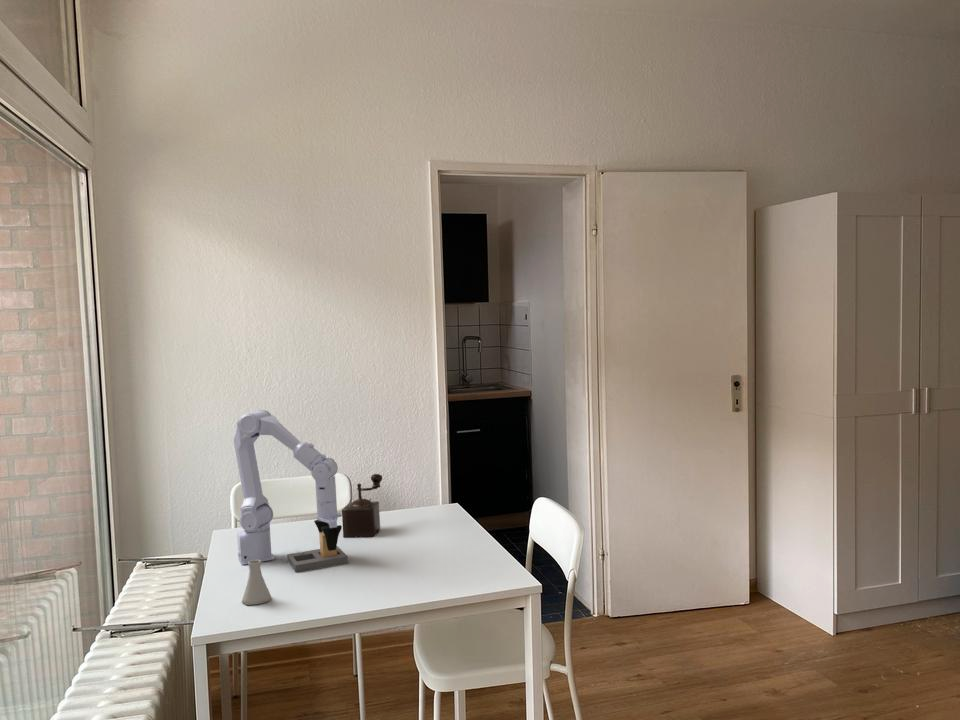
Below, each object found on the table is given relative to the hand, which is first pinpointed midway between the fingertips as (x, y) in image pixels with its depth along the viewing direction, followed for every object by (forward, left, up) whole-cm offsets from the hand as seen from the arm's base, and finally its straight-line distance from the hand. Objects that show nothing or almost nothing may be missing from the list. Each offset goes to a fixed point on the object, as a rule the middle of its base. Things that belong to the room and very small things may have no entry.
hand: (328, 546), depth 220 cm
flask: (-24, -23, -4) cm, 34 cm away
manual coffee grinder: (+18, +25, -4) cm, 31 cm away
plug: (0, 0, -4) cm, 4 cm away
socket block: (-4, 0, -4) cm, 5 cm away
